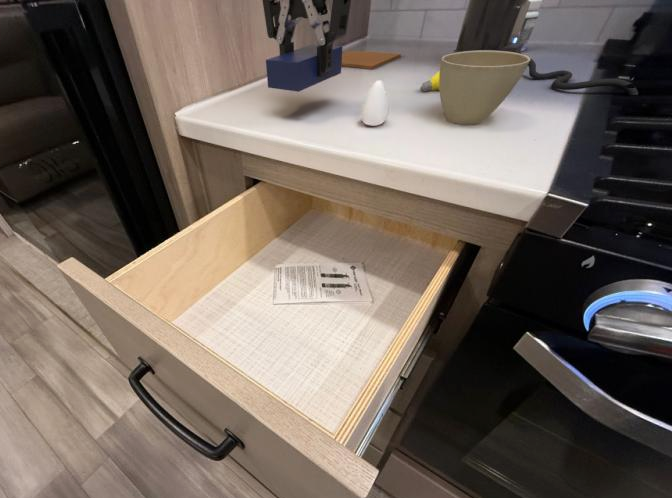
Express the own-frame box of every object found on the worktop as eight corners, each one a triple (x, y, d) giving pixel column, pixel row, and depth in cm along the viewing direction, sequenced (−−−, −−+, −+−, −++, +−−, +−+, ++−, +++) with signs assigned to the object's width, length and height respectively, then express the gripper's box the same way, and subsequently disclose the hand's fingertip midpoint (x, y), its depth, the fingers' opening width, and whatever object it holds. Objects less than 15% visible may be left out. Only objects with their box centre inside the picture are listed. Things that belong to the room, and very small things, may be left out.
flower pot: (514, 131, 42) (543, 64, 36) (431, 132, 43) (448, 67, 38) (493, 107, 48) (516, 47, 43) (423, 108, 50) (436, 51, 45)
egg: (387, 120, 48) (394, 76, 44) (384, 129, 45) (392, 83, 41) (361, 119, 49) (366, 76, 45) (357, 128, 46) (362, 83, 42)
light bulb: (459, 89, 55) (464, 68, 52) (423, 103, 56) (426, 84, 53) (451, 78, 57) (454, 57, 54) (416, 92, 58) (418, 72, 55)
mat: (400, 56, 76) (401, 53, 75) (372, 69, 70) (372, 65, 69) (349, 53, 83) (349, 50, 82) (319, 64, 77) (319, 61, 76)
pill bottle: (495, 50, 74) (512, 0, 68) (512, 47, 74) (531, -3, 68) (512, 53, 70) (531, 1, 64) (529, 50, 71) (550, -2, 65)
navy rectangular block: (310, 70, 54) (310, 44, 52) (341, 73, 51) (342, 45, 49) (267, 87, 49) (265, 59, 47) (298, 92, 46) (297, 62, 44)
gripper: (375, -109, 36) (358, 72, 48) (278, -87, 43) (285, 65, 55) (337, -111, 32) (329, 85, 44) (238, -86, 39) (255, 76, 52)
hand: (304, 73), depth 50 cm, fingers closed on navy rectangular block, 6 cm apart
